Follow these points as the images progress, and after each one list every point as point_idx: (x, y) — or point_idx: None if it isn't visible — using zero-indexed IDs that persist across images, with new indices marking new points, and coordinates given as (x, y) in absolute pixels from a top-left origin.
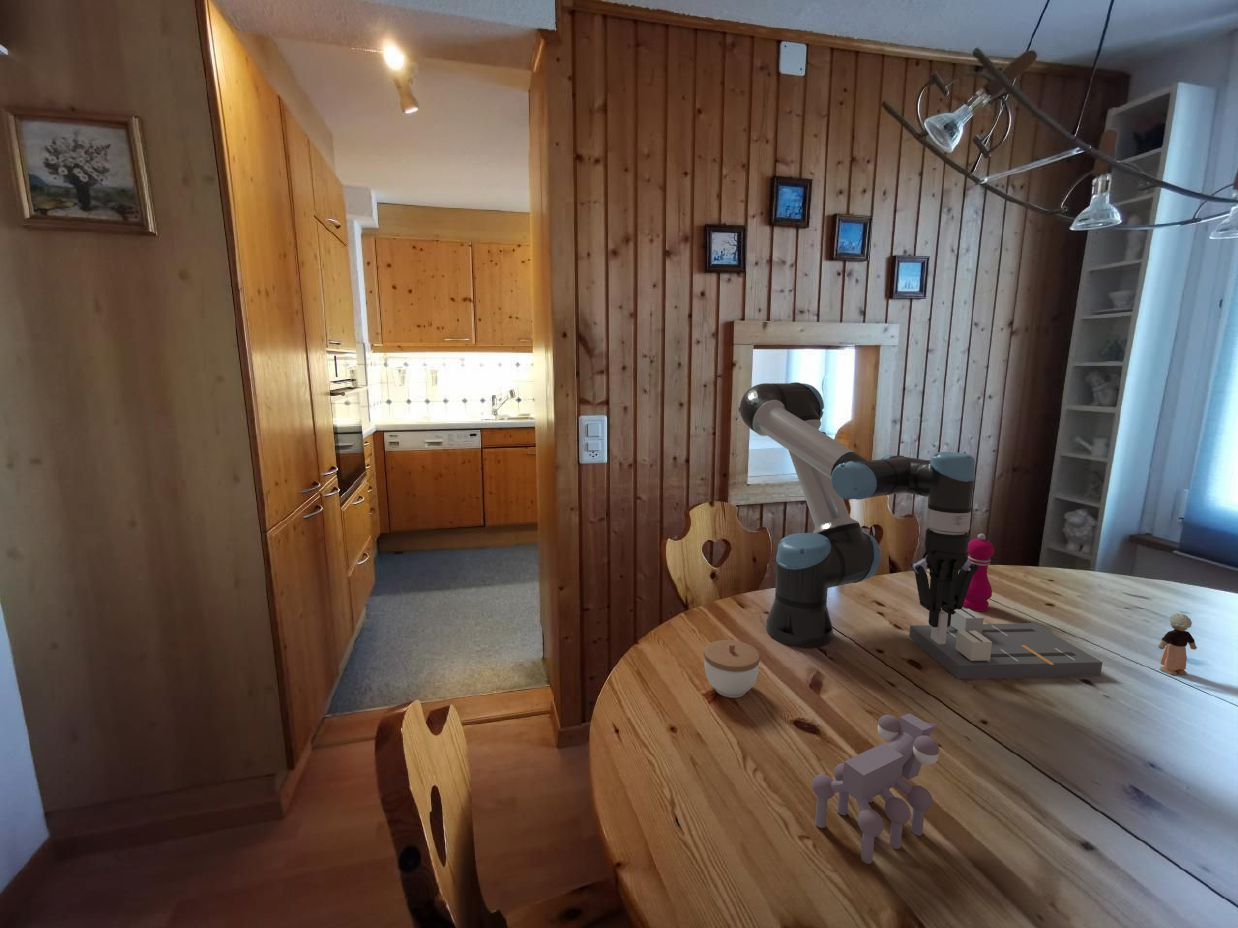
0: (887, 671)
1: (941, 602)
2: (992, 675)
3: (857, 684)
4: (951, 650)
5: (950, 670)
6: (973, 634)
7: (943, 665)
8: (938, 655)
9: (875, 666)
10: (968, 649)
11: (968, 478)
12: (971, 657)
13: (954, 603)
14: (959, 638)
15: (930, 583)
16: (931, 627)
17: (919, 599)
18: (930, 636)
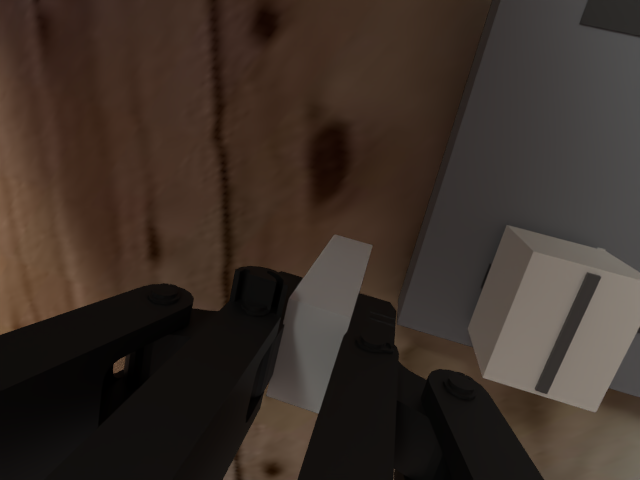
0: (191, 177)
1: (230, 459)
2: None
3: (52, 214)
4: (486, 216)
5: (412, 258)
6: (587, 317)
7: (425, 215)
8: (438, 181)
9: (170, 133)
10: (482, 327)
11: None
12: (471, 335)
13: (406, 461)
14: (513, 266)
15: (59, 473)
16: (323, 250)
17: (104, 301)
18: (525, 55)
